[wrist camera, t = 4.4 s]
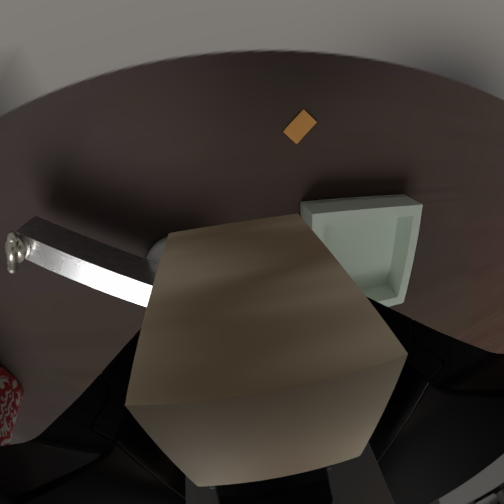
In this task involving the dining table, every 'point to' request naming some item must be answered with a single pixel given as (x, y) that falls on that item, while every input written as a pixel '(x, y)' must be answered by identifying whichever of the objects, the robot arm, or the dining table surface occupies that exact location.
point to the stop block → (259, 354)
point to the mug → (8, 405)
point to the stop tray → (370, 240)
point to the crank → (81, 260)
